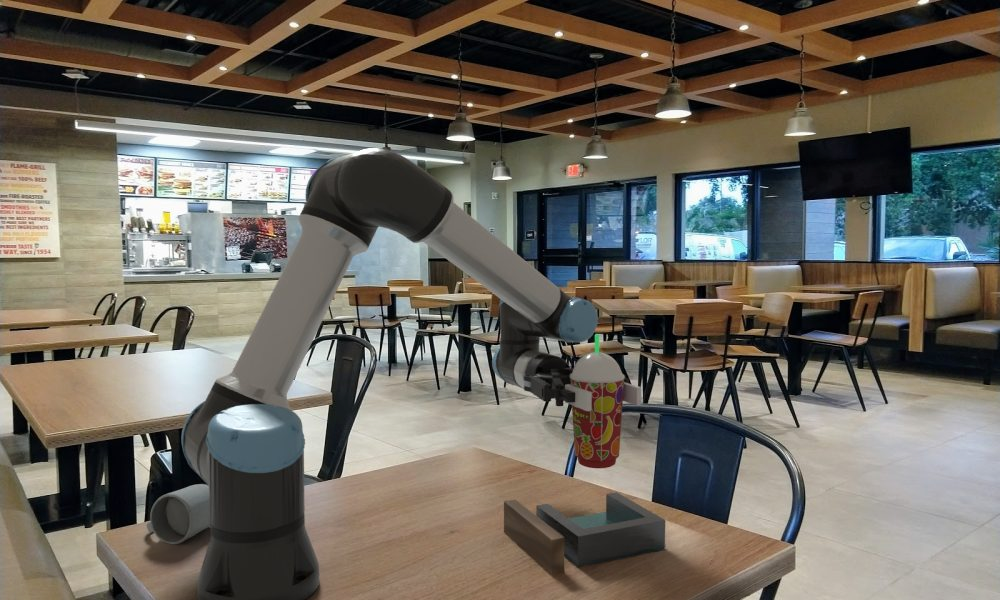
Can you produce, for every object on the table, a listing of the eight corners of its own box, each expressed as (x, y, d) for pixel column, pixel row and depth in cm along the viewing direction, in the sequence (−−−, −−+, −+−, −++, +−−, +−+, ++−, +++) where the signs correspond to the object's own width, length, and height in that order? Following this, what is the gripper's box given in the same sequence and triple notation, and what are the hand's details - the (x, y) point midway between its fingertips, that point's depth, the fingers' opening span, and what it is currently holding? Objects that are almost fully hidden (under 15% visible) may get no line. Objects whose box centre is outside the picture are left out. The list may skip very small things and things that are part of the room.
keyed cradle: (578, 567, 95) (578, 536, 95) (530, 528, 109) (530, 501, 109) (664, 549, 101) (665, 519, 101) (609, 514, 115) (609, 488, 115)
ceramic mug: (226, 526, 110) (224, 479, 109) (191, 547, 102) (189, 497, 101) (170, 521, 112) (168, 475, 112) (132, 541, 104) (130, 492, 104)
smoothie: (562, 457, 108) (562, 332, 106) (612, 453, 109) (612, 330, 108) (579, 473, 99) (579, 338, 98) (632, 469, 101) (633, 337, 100)
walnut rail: (551, 575, 93) (551, 539, 93) (503, 532, 107) (503, 501, 107) (564, 572, 94) (564, 537, 93) (515, 529, 108) (515, 499, 108)
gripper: (593, 390, 124) (671, 417, 104) (489, 400, 116) (552, 431, 95) (593, 349, 124) (672, 368, 103) (489, 357, 116) (552, 379, 95)
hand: (614, 398), depth 99 cm, fingers closed on smoothie, 8 cm apart
